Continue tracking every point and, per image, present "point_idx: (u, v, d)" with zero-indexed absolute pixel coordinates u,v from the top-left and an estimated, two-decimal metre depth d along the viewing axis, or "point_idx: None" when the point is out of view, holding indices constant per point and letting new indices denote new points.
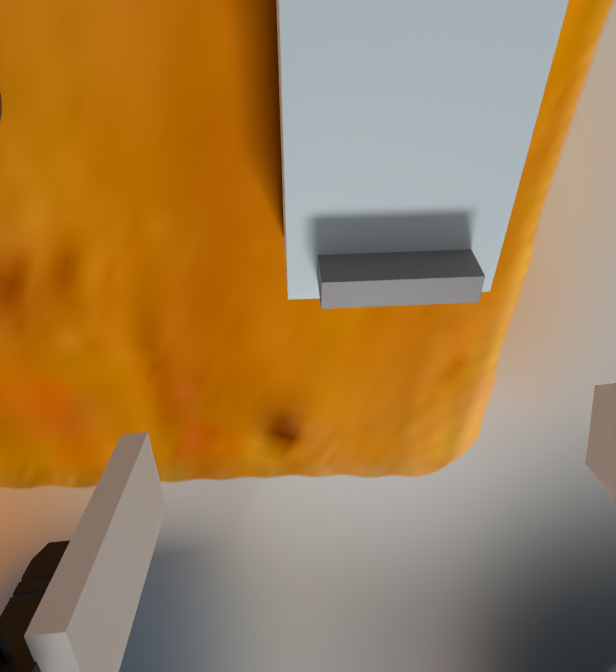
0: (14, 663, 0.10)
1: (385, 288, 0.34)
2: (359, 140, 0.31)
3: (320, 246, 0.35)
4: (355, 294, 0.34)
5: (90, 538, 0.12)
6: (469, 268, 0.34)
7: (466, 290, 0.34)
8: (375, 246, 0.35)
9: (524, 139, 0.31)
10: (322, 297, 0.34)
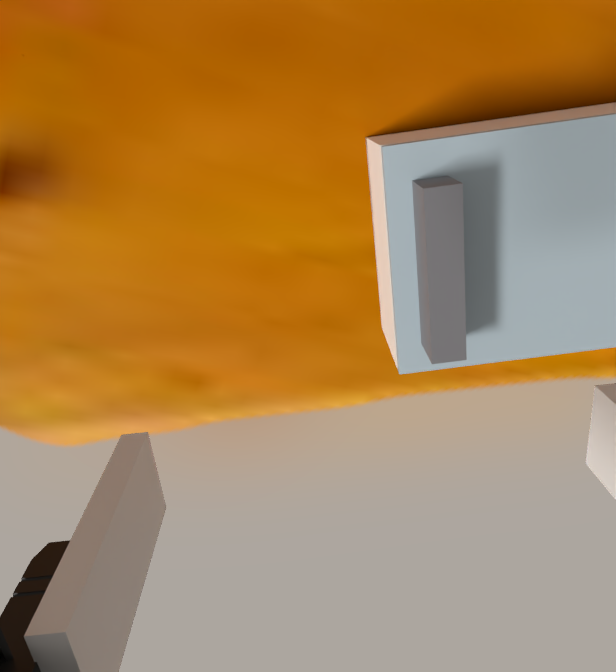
0: (14, 663, 0.10)
1: (452, 259, 0.30)
2: (580, 198, 0.31)
3: (459, 177, 0.31)
4: (444, 226, 0.29)
5: (90, 538, 0.12)
6: None
7: (448, 347, 0.32)
8: None
9: (567, 348, 0.35)
10: (440, 187, 0.28)
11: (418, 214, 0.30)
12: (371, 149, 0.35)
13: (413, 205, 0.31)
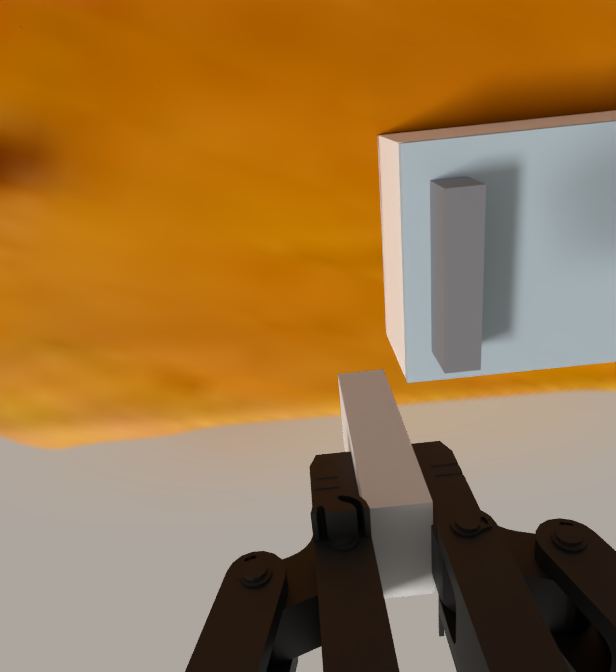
0: (371, 541, 0.11)
1: (471, 264, 0.28)
2: (602, 204, 0.30)
3: (479, 178, 0.29)
4: (464, 229, 0.28)
5: (369, 445, 0.14)
6: None
7: (462, 356, 0.30)
8: None
9: (581, 359, 0.34)
10: (462, 188, 0.27)
11: (436, 216, 0.29)
12: (384, 147, 0.34)
13: (430, 206, 0.30)
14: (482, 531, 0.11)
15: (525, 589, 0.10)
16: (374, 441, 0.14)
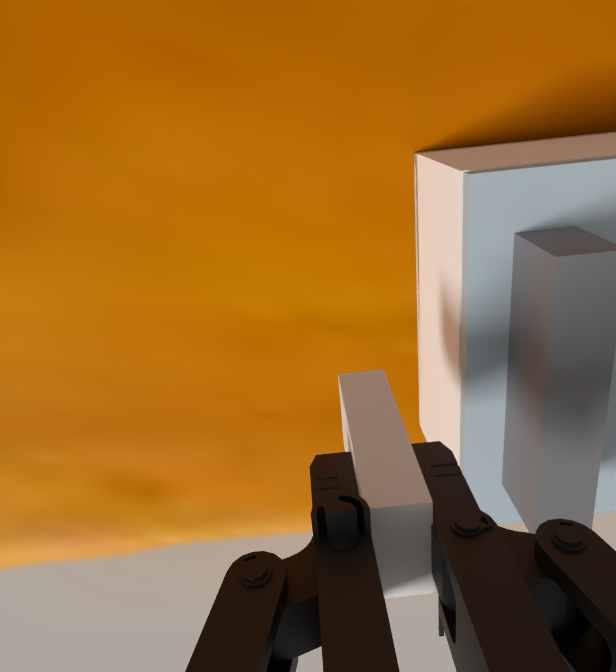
0: (371, 541, 0.11)
1: (590, 378, 0.17)
2: None
3: (595, 229, 0.18)
4: (584, 323, 0.16)
5: (369, 445, 0.14)
6: None
7: (563, 514, 0.19)
8: None
9: None
10: (586, 255, 0.15)
11: (528, 294, 0.17)
12: (429, 173, 0.22)
13: (513, 274, 0.18)
14: (482, 531, 0.11)
15: (525, 589, 0.10)
16: (374, 441, 0.14)
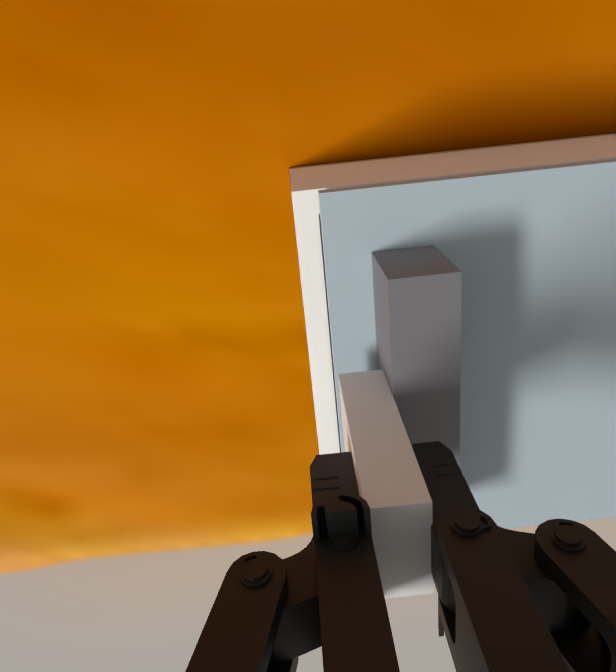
0: (371, 541, 0.11)
1: (438, 400, 0.17)
2: None
3: (453, 248, 0.18)
4: (425, 346, 0.16)
5: (369, 445, 0.14)
6: None
7: None
8: None
9: (614, 510, 0.22)
10: (419, 278, 0.15)
11: (380, 314, 0.17)
12: None
13: (373, 293, 0.18)
14: (482, 531, 0.11)
15: (525, 589, 0.10)
16: (374, 441, 0.14)
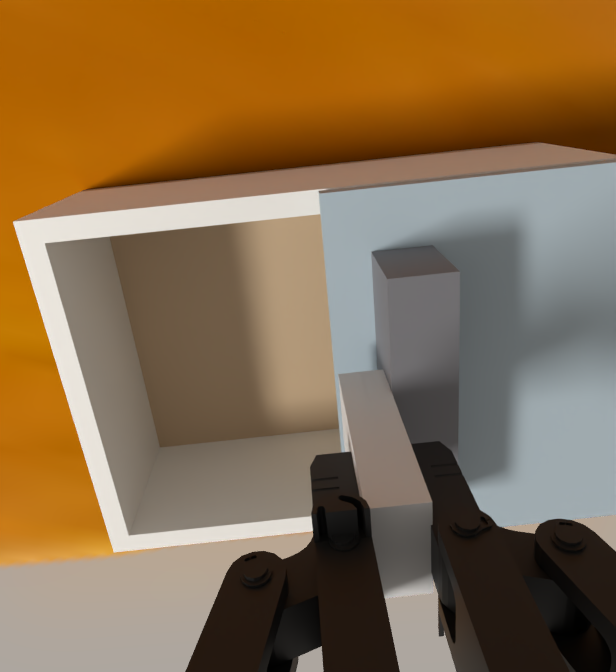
0: (371, 541, 0.11)
1: (437, 398, 0.17)
2: None
3: (452, 248, 0.18)
4: (424, 345, 0.16)
5: (369, 445, 0.14)
6: None
7: None
8: None
9: (612, 508, 0.22)
10: (418, 277, 0.15)
11: (380, 313, 0.17)
12: None
13: (373, 292, 0.18)
14: (482, 531, 0.11)
15: (525, 589, 0.10)
16: (374, 441, 0.14)
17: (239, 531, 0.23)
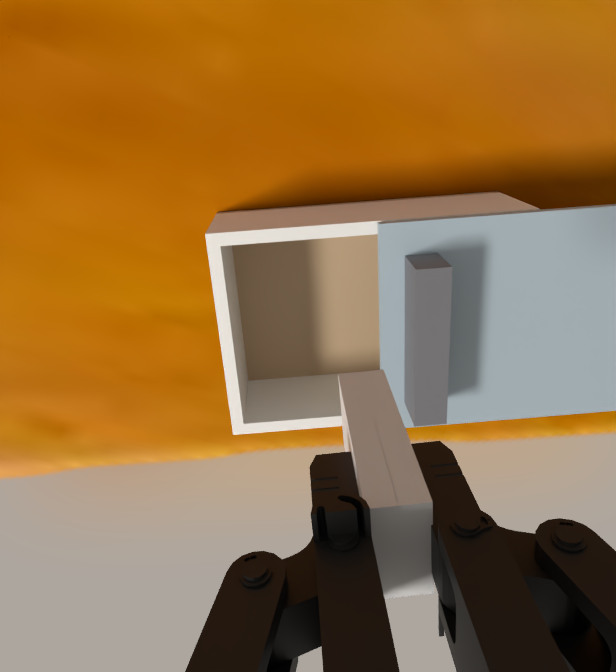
0: (371, 541, 0.11)
1: (439, 333, 0.32)
2: (557, 279, 0.34)
3: (448, 254, 0.33)
4: (433, 304, 0.31)
5: (369, 445, 0.14)
6: None
7: (430, 412, 0.34)
8: None
9: (539, 412, 0.38)
10: (431, 269, 0.30)
11: (409, 288, 0.32)
12: None
13: (404, 278, 0.33)
14: (482, 531, 0.11)
15: (525, 589, 0.10)
16: (374, 441, 0.14)
17: (310, 423, 0.38)
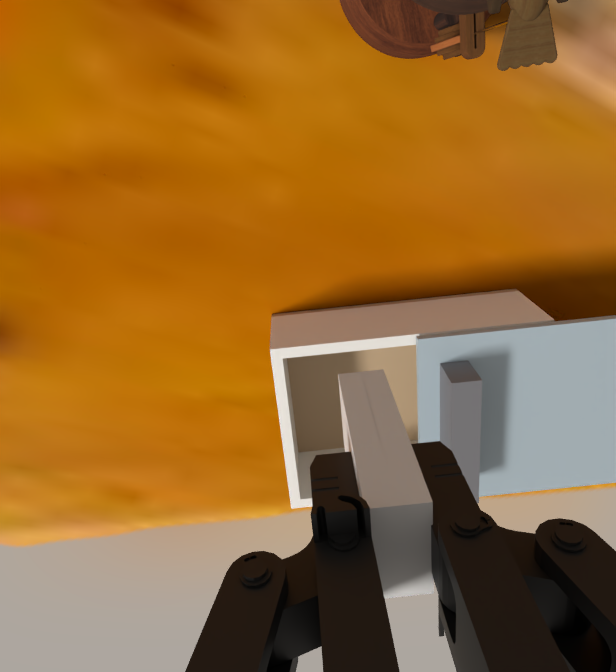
0: (371, 541, 0.11)
1: (471, 432, 0.38)
2: (571, 377, 0.40)
3: (477, 361, 0.39)
4: (466, 409, 0.37)
5: (369, 445, 0.14)
6: None
7: None
8: None
9: (557, 484, 0.43)
10: (464, 382, 0.36)
11: (444, 393, 0.38)
12: None
13: (439, 381, 0.39)
14: (482, 531, 0.11)
15: (525, 589, 0.10)
16: (374, 441, 0.14)
17: None
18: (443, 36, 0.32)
